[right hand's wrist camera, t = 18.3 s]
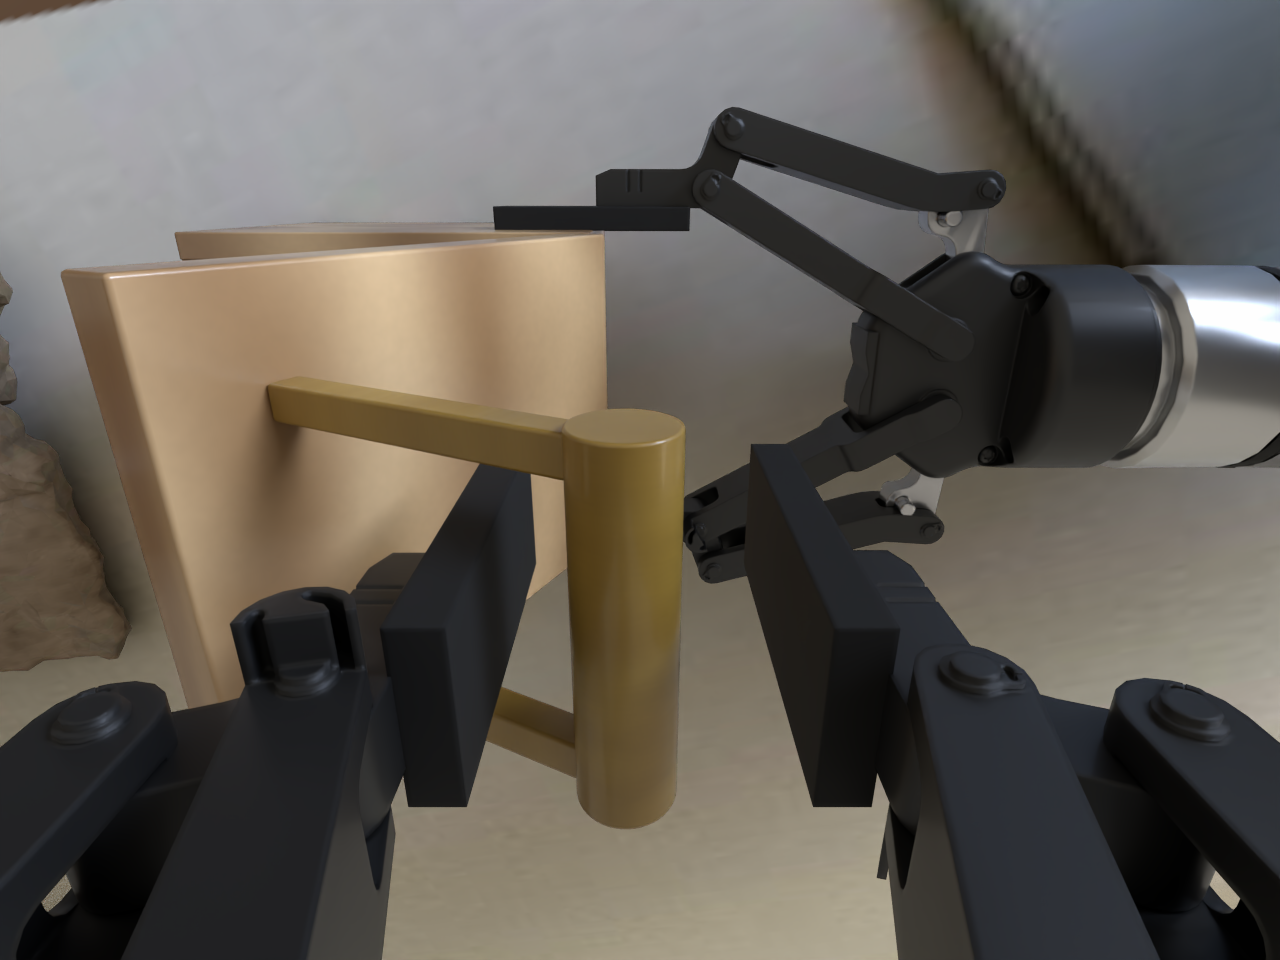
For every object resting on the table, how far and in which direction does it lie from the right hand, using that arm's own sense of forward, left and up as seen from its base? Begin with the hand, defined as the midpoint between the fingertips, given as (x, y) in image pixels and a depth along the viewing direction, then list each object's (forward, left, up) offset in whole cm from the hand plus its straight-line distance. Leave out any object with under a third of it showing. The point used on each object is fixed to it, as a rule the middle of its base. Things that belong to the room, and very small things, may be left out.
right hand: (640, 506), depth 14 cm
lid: (-5, 0, -3) cm, 6 cm away
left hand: (-5, 0, -13) cm, 14 cm away
